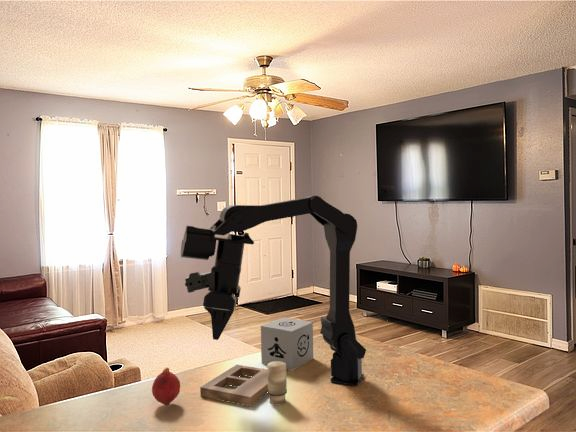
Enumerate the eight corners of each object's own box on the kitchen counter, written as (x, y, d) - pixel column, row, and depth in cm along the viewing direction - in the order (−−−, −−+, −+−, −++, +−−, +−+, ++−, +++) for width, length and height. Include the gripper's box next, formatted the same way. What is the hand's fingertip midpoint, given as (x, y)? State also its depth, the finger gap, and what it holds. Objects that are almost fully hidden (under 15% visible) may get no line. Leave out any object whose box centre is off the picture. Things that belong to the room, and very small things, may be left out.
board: (282, 380, 110) (282, 372, 110) (250, 406, 97) (250, 397, 97) (236, 372, 116) (236, 364, 116) (200, 395, 102) (200, 387, 102)
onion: (173, 412, 95) (172, 374, 95) (147, 410, 96) (146, 372, 96) (185, 399, 101) (183, 363, 100) (160, 398, 102) (159, 362, 101)
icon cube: (283, 352, 130) (282, 317, 130) (313, 358, 125) (312, 322, 124) (261, 363, 122) (260, 325, 122) (292, 370, 116) (291, 331, 116)
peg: (290, 399, 100) (289, 362, 99) (281, 406, 96) (280, 369, 96) (273, 395, 102) (272, 360, 101) (264, 403, 98) (263, 366, 98)
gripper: (198, 254, 109) (188, 319, 108) (183, 261, 90) (171, 340, 90) (244, 260, 109) (235, 326, 109) (239, 269, 90) (228, 347, 90)
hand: (218, 334), depth 99 cm, fingers open, 9 cm apart
